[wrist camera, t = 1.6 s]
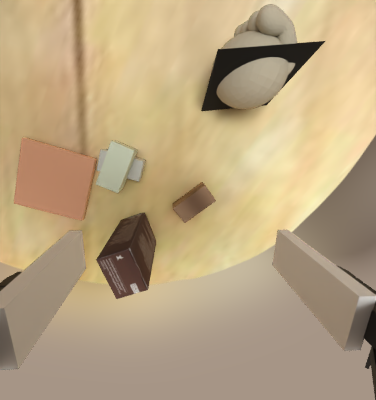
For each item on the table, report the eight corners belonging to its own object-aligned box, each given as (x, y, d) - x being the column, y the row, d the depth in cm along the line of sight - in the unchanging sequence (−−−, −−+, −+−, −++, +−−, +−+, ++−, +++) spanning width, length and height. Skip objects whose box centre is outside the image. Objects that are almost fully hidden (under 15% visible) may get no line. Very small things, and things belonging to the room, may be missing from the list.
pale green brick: (122, 188, 31) (117, 193, 28) (102, 180, 30) (95, 184, 27) (137, 149, 30) (134, 150, 27) (117, 140, 29) (111, 140, 26)
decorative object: (195, 61, 32) (260, 56, 32) (203, 129, 32) (268, 123, 32) (208, -34, 19) (315, -40, 19) (221, 80, 19) (328, 71, 19)
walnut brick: (183, 216, 36) (184, 223, 33) (172, 203, 35) (173, 208, 32) (212, 195, 36) (216, 200, 33) (202, 181, 35) (205, 185, 32)
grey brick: (103, 168, 33) (96, 170, 30) (106, 148, 32) (100, 149, 29) (141, 178, 34) (138, 181, 31) (145, 159, 33) (143, 161, 30)
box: (119, 220, 35) (94, 259, 24) (144, 211, 35) (132, 246, 23) (132, 251, 37) (115, 301, 25) (157, 243, 37) (151, 289, 25)
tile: (18, 201, 33) (13, 203, 32) (26, 137, 31) (22, 137, 30) (84, 218, 34) (82, 220, 33) (97, 158, 32) (94, 159, 31)
